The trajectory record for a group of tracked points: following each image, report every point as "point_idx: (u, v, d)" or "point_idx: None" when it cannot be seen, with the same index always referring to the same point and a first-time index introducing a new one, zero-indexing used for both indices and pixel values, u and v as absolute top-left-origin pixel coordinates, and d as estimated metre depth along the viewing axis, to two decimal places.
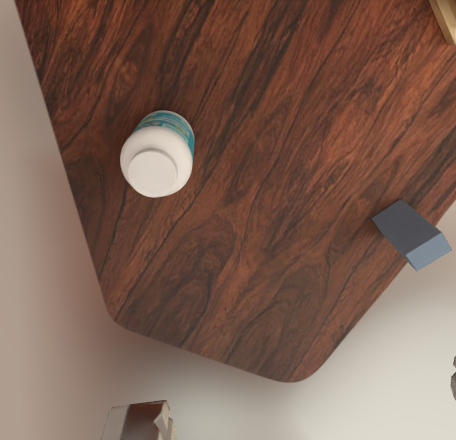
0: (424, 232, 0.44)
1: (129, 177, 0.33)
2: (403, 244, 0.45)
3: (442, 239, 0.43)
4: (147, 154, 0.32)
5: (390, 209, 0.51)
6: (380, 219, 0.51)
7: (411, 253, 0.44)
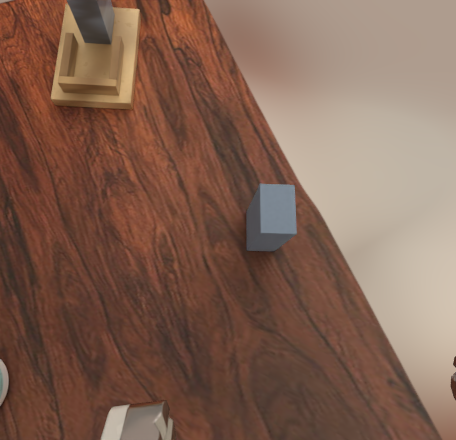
0: (257, 202, 0.35)
1: None
2: (257, 229, 0.35)
3: (270, 187, 0.34)
4: None
5: (247, 226, 0.42)
6: (248, 241, 0.41)
7: (263, 226, 0.33)
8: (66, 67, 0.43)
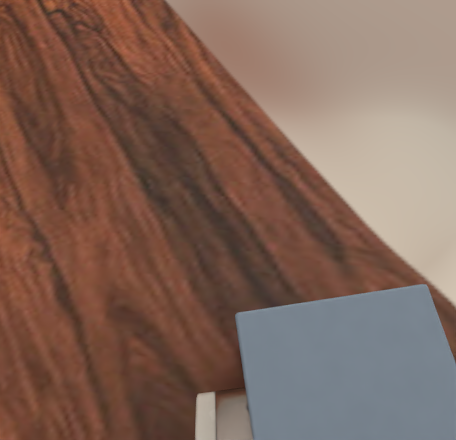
0: None
1: None
2: None
3: (298, 324, 0.06)
4: None
5: None
6: None
7: None
8: None
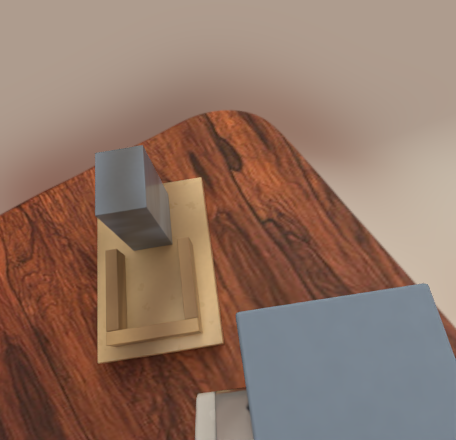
0: None
1: None
2: None
3: (298, 323, 0.06)
4: None
5: None
6: None
7: None
8: (116, 313, 0.26)
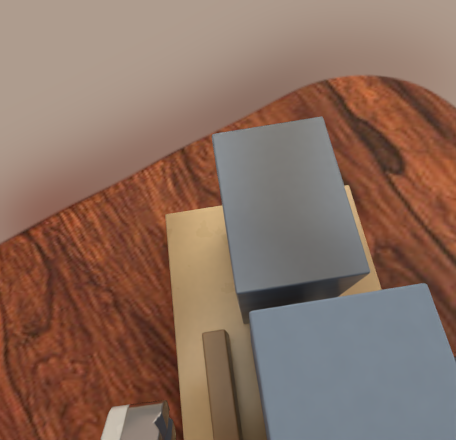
0: None
1: None
2: None
3: (307, 321, 0.07)
4: None
5: (259, 391, 0.14)
6: None
7: None
8: None
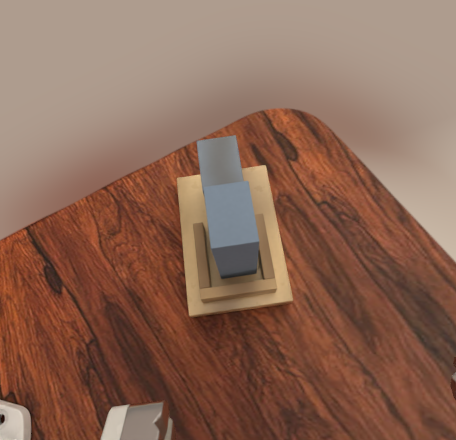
0: None
1: None
2: None
3: (217, 189, 0.26)
4: None
5: None
6: None
7: (214, 239, 0.25)
8: (206, 274, 0.32)
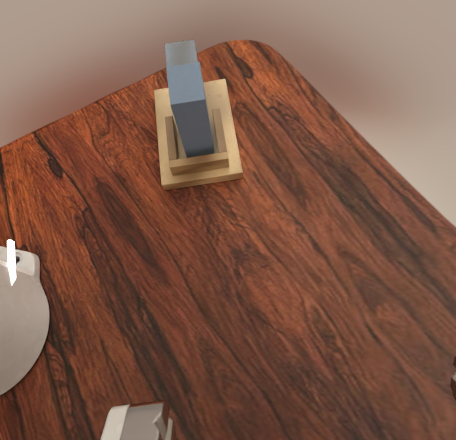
0: None
1: None
2: None
3: (176, 67, 0.36)
4: None
5: None
6: None
7: (172, 98, 0.34)
8: (174, 150, 0.41)
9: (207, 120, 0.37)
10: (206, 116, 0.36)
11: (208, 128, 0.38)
